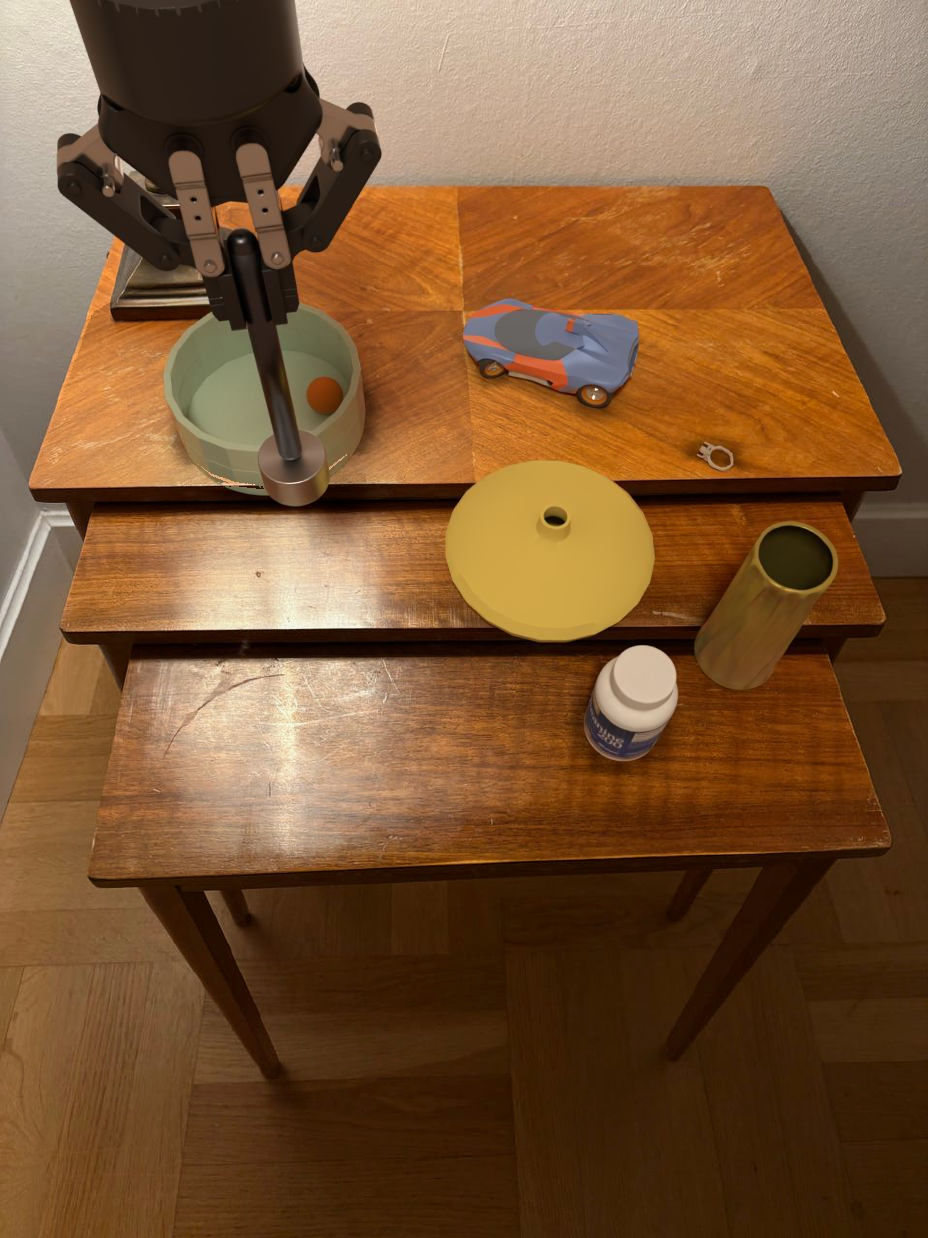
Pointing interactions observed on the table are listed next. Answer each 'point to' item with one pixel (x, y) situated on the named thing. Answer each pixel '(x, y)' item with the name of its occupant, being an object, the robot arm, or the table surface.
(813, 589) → the vase
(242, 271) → the rod with round foot
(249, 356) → the bowl
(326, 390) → the ball
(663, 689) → the pill bottle
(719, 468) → the ring
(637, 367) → the table surface
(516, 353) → the toy car
